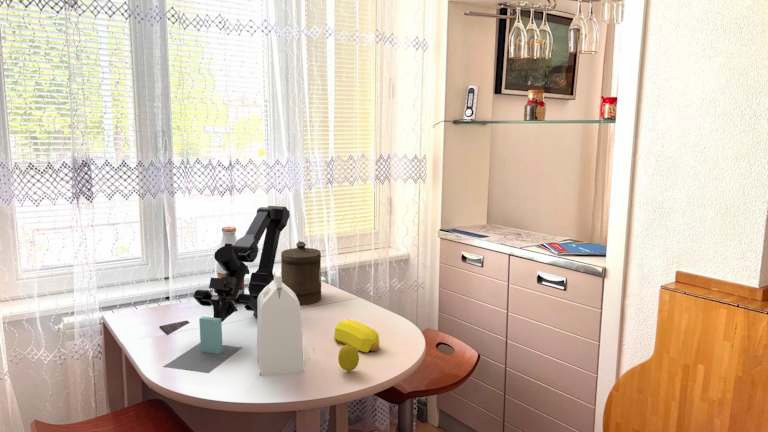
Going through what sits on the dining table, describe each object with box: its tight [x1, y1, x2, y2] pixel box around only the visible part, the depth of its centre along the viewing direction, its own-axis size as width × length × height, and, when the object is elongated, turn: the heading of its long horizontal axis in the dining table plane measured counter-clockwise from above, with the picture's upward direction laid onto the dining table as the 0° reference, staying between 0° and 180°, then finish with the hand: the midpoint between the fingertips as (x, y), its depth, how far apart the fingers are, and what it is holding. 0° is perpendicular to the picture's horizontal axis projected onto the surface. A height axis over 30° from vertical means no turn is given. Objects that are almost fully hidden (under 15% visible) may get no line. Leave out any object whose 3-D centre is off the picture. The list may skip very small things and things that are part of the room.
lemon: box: [337, 344, 360, 373], centre depth 156 cm, size 6×6×8 cm
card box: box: [199, 315, 223, 354], centre depth 167 cm, size 2×6×10 cm, turn 75°
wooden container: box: [280, 241, 322, 306], centre depth 217 cm, size 15×15×22 cm
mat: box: [162, 341, 243, 374], centre depth 165 cm, size 18×14×1 cm
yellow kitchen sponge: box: [333, 319, 380, 353], centre depth 175 cm, size 18×7×8 cm
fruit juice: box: [216, 226, 246, 298], centre depth 212 cm, size 9×9×28 cm
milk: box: [256, 270, 305, 377], centre depth 159 cm, size 12×12×26 cm
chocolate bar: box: [159, 320, 191, 336], centre depth 184 cm, size 9×1×18 cm
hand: (215, 326), depth 169 cm, fingers closed
